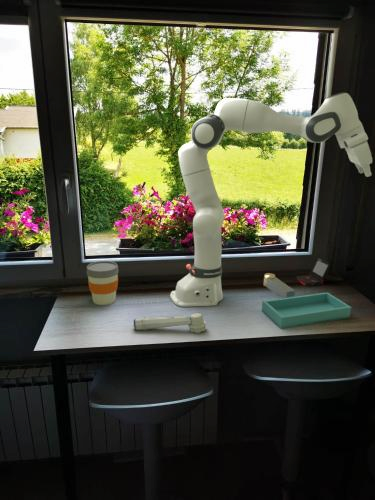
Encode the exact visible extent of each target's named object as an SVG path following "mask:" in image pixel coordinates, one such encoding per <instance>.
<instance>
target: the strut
mask: <svg viewBox="0 0 375 500" xmlns="http://www.w3.org/2000/svg"><path fill="white" fill-rule="evenodd" d="M263 286H264V287H266V288H267V289H269V290H270V292H273V293H274V294H275V295H276V296H277V297H279V299H282V298H289V297H296V290H295V289H294V288H293V287H291V286H289V285H288V284H286V283H285V282H284V281H282V280H281V279H279V278H278V277H276V274H274V273H271V272H267V273H264V276H263Z"/></svg>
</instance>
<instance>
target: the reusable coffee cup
mask: <svg viewBox="0 0 375 500" xmlns="http://www.w3.org/2000/svg"><path fill="white" fill-rule="evenodd" d="M119 272H120V271H119V265H118V264H117V263H116V262H114V261H112V260H111V261H110V260H100V261H95V262H90V263H88V265H86V275H87V278H88V279H87V282H88V288H89V292H90V293H91V298H92V301H93V303H94V304H95V305H99V306H107V305H110V304H113V303H115V301H116V296H117V290H118V284H119V275H118V274H119Z"/></svg>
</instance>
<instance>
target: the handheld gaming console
mask: <svg viewBox="0 0 375 500" xmlns="http://www.w3.org/2000/svg"><path fill="white" fill-rule="evenodd" d="M330 268H331V263H330V262H327V261H326V260H323V259H321V258H317V259H316V260H315V263H314V264H313V266H312V267H311V270H310V272H309V274H307V275H298V276H295V280H296V279H297V280H299V281H300V282H299V281H298V282H299V283H300V284H302V285H303V286H305V287H312V286H321V285H323V283H324V279H325V278H326V276H327V273H328V272H329V270H330ZM297 280H296V281H297Z"/></svg>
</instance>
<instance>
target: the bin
mask: <svg viewBox="0 0 375 500" xmlns="http://www.w3.org/2000/svg"><path fill="white" fill-rule="evenodd" d="M261 312H262V313H263V314H264V316H266V317H267V318H268V319H269V320H270V321H271V322H272V323H273V324H275V325H276V327H278V328H279V329H280V330H283V329H289V328H294V327H302V326H307V325H312V324H319V323H320V324H321V323H325V322H326V323H327V322H332V321H333V322H334V321H337V320H345V319H349V318H350V317H351V313H352V306H351V305H348V304H347V303H345V302H343V300H341V299H339V298H337V297H336V296H334V295H332V293H330V292H328V291H327V292H321V293H320V292H319V293H312V294H307V295H298V296H296V295H295V297H289V298H276V299H275V298H274V299H267V300H263V301H262V304H261Z"/></svg>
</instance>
